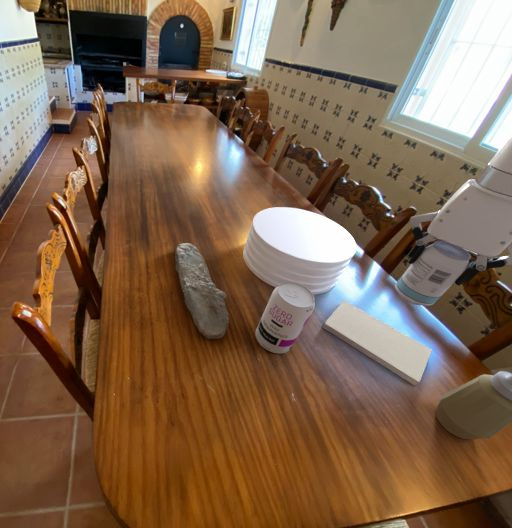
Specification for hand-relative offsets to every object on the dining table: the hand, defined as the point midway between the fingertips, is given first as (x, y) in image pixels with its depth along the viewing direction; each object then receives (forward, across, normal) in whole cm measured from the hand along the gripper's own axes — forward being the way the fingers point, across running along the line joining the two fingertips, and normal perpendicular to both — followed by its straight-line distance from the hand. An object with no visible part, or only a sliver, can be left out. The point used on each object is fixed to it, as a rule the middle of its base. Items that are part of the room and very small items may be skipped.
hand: (434, 270), depth 56 cm
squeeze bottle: (+22, -17, +9) cm, 29 cm away
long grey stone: (+22, +39, +20) cm, 49 cm away
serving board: (+22, 0, 0) cm, 22 cm away
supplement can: (+22, +16, +19) cm, 33 cm away
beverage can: (+7, 0, 0) cm, 7 cm away
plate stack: (+22, +28, -11) cm, 37 cm away
